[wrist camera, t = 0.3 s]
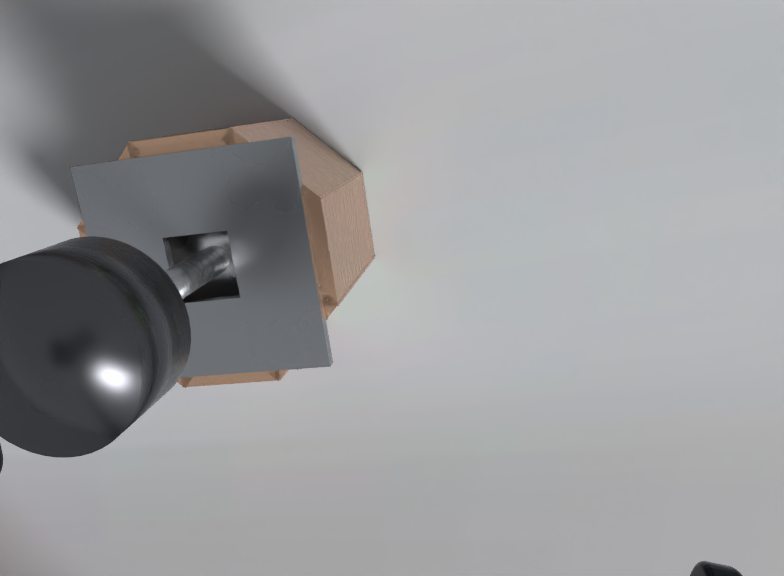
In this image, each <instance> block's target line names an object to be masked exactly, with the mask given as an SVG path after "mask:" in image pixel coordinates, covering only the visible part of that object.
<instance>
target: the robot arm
mask: <svg viewBox="0 0 784 576" xmlns="http://www.w3.org/2000/svg"><path fill="white" fill-rule="evenodd" d="M2 465H3V454H2V450H1V445H0V472H1V470H2ZM690 576H742V575H741V573H740V572H738V571H737V570H736V569H735V568H733V567H730V566H726V565H721V564H716V563H711V562H706V561H701V562H699V563H698V564H696V566H695V567H694V568H693V570H692V572H691V574H690Z"/></svg>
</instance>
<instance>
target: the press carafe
mask: <svg viewBox="0 0 784 576" xmlns="http://www.w3.org/2000/svg"><path fill="white" fill-rule="evenodd" d="M70 170H71V174H72V178H73V182H74V186H75V190H76V194H77V198H78V202H79V206H80V210H81V214H82V218H83V219H82V221H81V223H80V224H79V225H78V228H77V229H78V230H79V233H80V237H89V236H96V237H106V238H110V239H115V240H118V241H121V242H124V243H126V244H129V245H131V246H133V247H135V248H137V249H139V250H140V251H142V252H143V253H145V254H146V255H148V256H149V257H150V258H151V259H153V260H154V261H155V262H156V263H157V264H158V265H159V266H160V267H161V268H162V269H163V270H166V269H168V268H170V267H171V266H173V265H174V263H173V258H172V254H171V249H170V245H169V240H168V237H175V236H184V235H193V234H201V233H210V232H219V231H227V233H228V238H229V243H230V248H231V253H232V258H233V263H234V268H235V273H236V278H237V283H238V288H239V293H240V295H234V296H224V297H214V298H204V299H193V300H183V301H184V303H185V306H186V309H187V312H188V316H189V321H190V327H191V346H190V353H189V357H188V361H187V364H186V366H185V369H184V371H183V373H182V375H181V376H180V378H179V380H178V381H177V382H178V383H179V384H181V385H182V387H185V388H186V387H191V386H205V385H219V384H233V383H246V382H260V381H274V380H277V381H279V380H281V379H282V378H283V376H284V375H285V374H286V372H287V371H288V370H289V369H302V368H316V367H329V366H331V364H332V363H333V360H332V354H331V348H330V342H329V336H328V331H327V325H326V320H327V319H328V317H329V315H330V314H331V313H332V311H333V310H334V309H335V308H336V306H339V304H340V303H341V302H342V300H343V299H344V298H345V296H346V295H347V294H348V292H349V291H350V290H351V288H352V287H353V286H354V284H355V283H356V282H357V281H358V279H359V278H360V277H361V275H362V274H363V273H364V271H365V270H366V269H367V267H368V266H369V265H370V263H371V262H372V261H373V259H374V258H375V255H374V249H373V243H372V236H371V229H370V222H369V216H368V209H367V202H366V195H365V189H364V182H363V173H362V172H360V171H359V170H358V169H357V168H355V167H354V166H353V165H352V164H350V163H349V162H348V161H346V160H345V159H344V158H343V157H341V156H340V155H339V154H337V153H336V152H335V151H334V150H332V149H331V148H330V147H329V146H327V145H326V144H325V143H323V142H322V141H321V140H320V139H318V138H317V137H316V136H315V135H313V134H312V133H311V132H309V131H308V130H307V129H306V128H304V127H303V126H302V125H300V124H299V123H298V122H297V121H295V119H293V118H290V119H283V120H276V121H269V122H262V123H255V124H248V125H241V126H234V127H229V128H227V129H220V130H206V131H199V132H192V133H185V134H178V135H171V136H164V137H157V138H150V139H143V140H136V141H129V142H128V143H127V146H126V147H125V149H124V151H123V152H122V154H121V156H120V157H119V159H118V160H117V161H110V162H102V163H95V164H88V165H81V166H74V167H70Z"/></svg>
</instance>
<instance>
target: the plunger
mask: <svg viewBox="0 0 784 576" xmlns="http://www.w3.org/2000/svg"><path fill="white" fill-rule="evenodd" d="M168 240H169V245H170V249H171V254H172V258H173V263H174V265H173V266H171V267H170V268H168V269H166V270H163V269H162V268H161V267H160V266H159V265H158V264H157V263H156V262H155V261H154V260H153V259H151V258H150V257H149V256H148V255H146V254H145V253H143V252H142V251H140V250H139V249H137V248H135V247H133V246H131V245H129V244H126V243H124V242H121V241H118V240H115V239H110V238H106V237H96V236H89V237H79V238H74V239H70V240H67V241H64V242H61V243H58V244H56V245H53V246H50V247H47V248H44V249H41V250H38V251H35V252H33V253H30V254H27V255H24V256H21V257H18V258H15V259H13V260H10V261H7V262H4V263H1V264H0V436H1V437H2V438H4V439H5V440H7V441H8V442H10V443H12V444H14V445H16V446H18V447H20V448H22V449H25V450H27V451H30V452H32V453H36V454H40V455H44V456H51V457H76V456H82V455H86V454H89V453H92V452H95V451H97V450H99V449H102V448H103V447H105V446H106V445H108V444H110V443H111V442H112V441H113V440H115V439H116V438H117V437H118V436H119V435H120V434H121V433H122V432H124V431H125V430H126V429H127V428H128V427H129V426H130V425H131V424H132V423H134V422H135V421H136V420H137V419H138V418H139V417H140V416H141V415H142V414H144V413H145V412H146V411H147V410H148V409H149V408H150V407H151V406H152V405H153V404H155V403H156V402H157V401H158V400H159V399H160V398H161V397H162V396H163V395H165V394H166V393H167V392H168V391H169V390H170V389H171V388H172V387H173V386H174V385H175V383H176V382H177V381H178V380H179V378H180V376H181V375H182V373H183V371H184V369H185V366H186V364H187V361H188V357H189V353H190V346H191V327H190V321H189V316H188V312H187V309H186V306H185V303H184V301H183V300H193V299H204V298H214V297H224V296H234V295H240V293H239V288H238V283H237V278H236V273H235V268H234V263H233V258H232V253H231V248H230V243H229V238H228V233H227V231H219V232H210V233H201V234H193V235H184V236H175V237H168Z"/></svg>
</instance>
